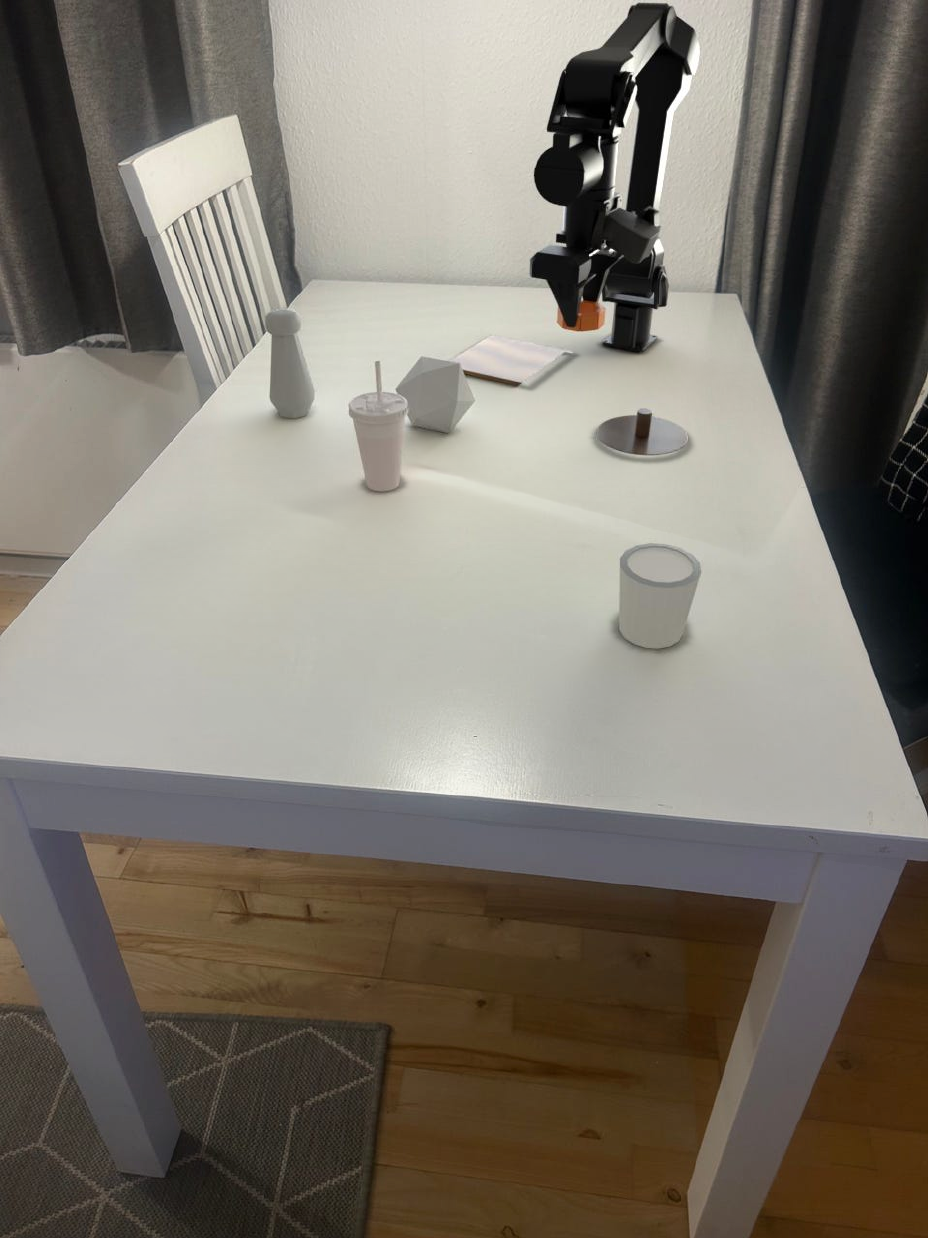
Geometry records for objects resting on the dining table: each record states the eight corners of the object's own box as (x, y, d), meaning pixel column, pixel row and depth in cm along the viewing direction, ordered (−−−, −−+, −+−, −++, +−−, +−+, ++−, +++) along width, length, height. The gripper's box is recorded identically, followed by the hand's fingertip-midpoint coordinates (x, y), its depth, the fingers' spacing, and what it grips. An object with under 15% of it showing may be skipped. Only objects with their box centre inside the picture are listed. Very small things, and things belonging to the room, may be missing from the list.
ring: (569, 312, 118) (570, 297, 117) (609, 320, 116) (611, 304, 115) (550, 326, 114) (551, 310, 113) (592, 334, 112) (593, 318, 111)
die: (485, 424, 117) (458, 349, 116) (476, 417, 108) (448, 336, 107) (423, 447, 118) (397, 373, 118) (410, 443, 110) (381, 363, 109)
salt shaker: (321, 403, 121) (311, 304, 113) (311, 422, 116) (299, 320, 108) (278, 401, 121) (264, 303, 113) (266, 420, 116) (251, 318, 109)
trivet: (490, 338, 139) (490, 334, 139) (574, 355, 134) (574, 351, 133) (442, 369, 130) (442, 364, 130) (529, 388, 124) (530, 384, 124)
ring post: (617, 414, 118) (620, 385, 115) (699, 432, 113) (704, 404, 111) (581, 447, 110) (583, 418, 108) (668, 469, 106) (672, 438, 103)
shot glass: (604, 608, 84) (611, 543, 80) (677, 604, 84) (688, 540, 80) (621, 655, 78) (629, 589, 74) (699, 651, 79) (712, 584, 75)
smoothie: (419, 475, 105) (415, 356, 96) (398, 501, 100) (392, 379, 91) (368, 466, 106) (359, 349, 98) (345, 492, 101) (333, 371, 93)
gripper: (625, 211, 96) (611, 356, 105) (684, 175, 108) (667, 307, 118) (529, 199, 100) (525, 339, 110) (597, 166, 113) (588, 294, 122)
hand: (580, 319), depth 115 cm, fingers closed on ring, 5 cm apart
